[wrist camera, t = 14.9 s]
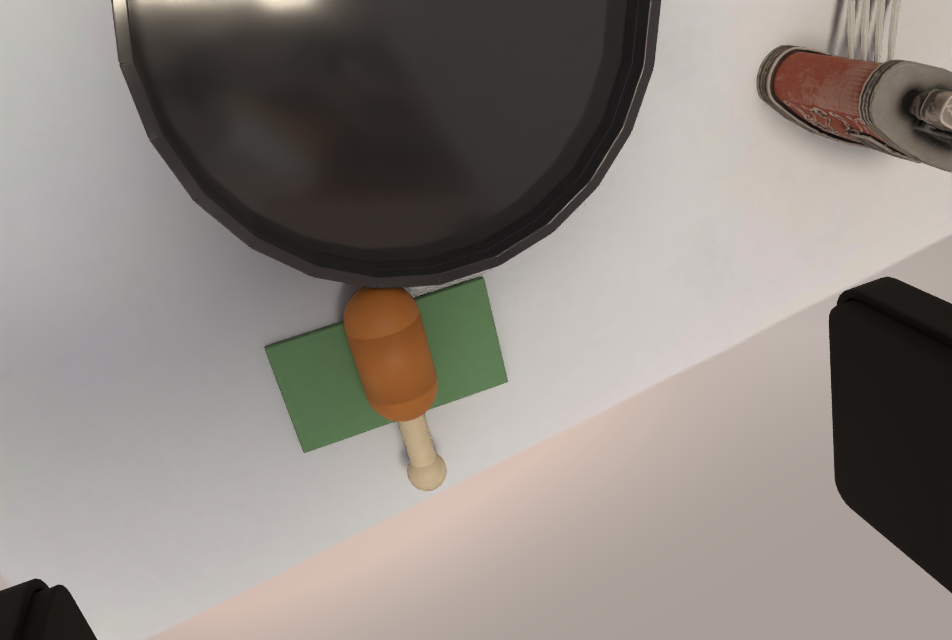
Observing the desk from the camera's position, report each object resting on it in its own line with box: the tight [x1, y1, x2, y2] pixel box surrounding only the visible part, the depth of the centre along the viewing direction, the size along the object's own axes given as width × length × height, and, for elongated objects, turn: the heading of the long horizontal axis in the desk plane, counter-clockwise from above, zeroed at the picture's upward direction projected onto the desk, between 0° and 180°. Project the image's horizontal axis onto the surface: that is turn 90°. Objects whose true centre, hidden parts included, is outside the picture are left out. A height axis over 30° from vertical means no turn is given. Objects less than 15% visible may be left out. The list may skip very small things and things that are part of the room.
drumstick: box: [344, 287, 447, 491], centre depth 37 cm, size 10×3×3 cm, turn 13°
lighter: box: [757, 45, 952, 172], centre depth 35 cm, size 8×3×10 cm, turn 68°
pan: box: [111, 0, 661, 289], centre depth 32 cm, size 20×20×2 cm
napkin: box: [265, 277, 508, 453], centre depth 38 cm, size 10×6×1 cm, turn 103°
